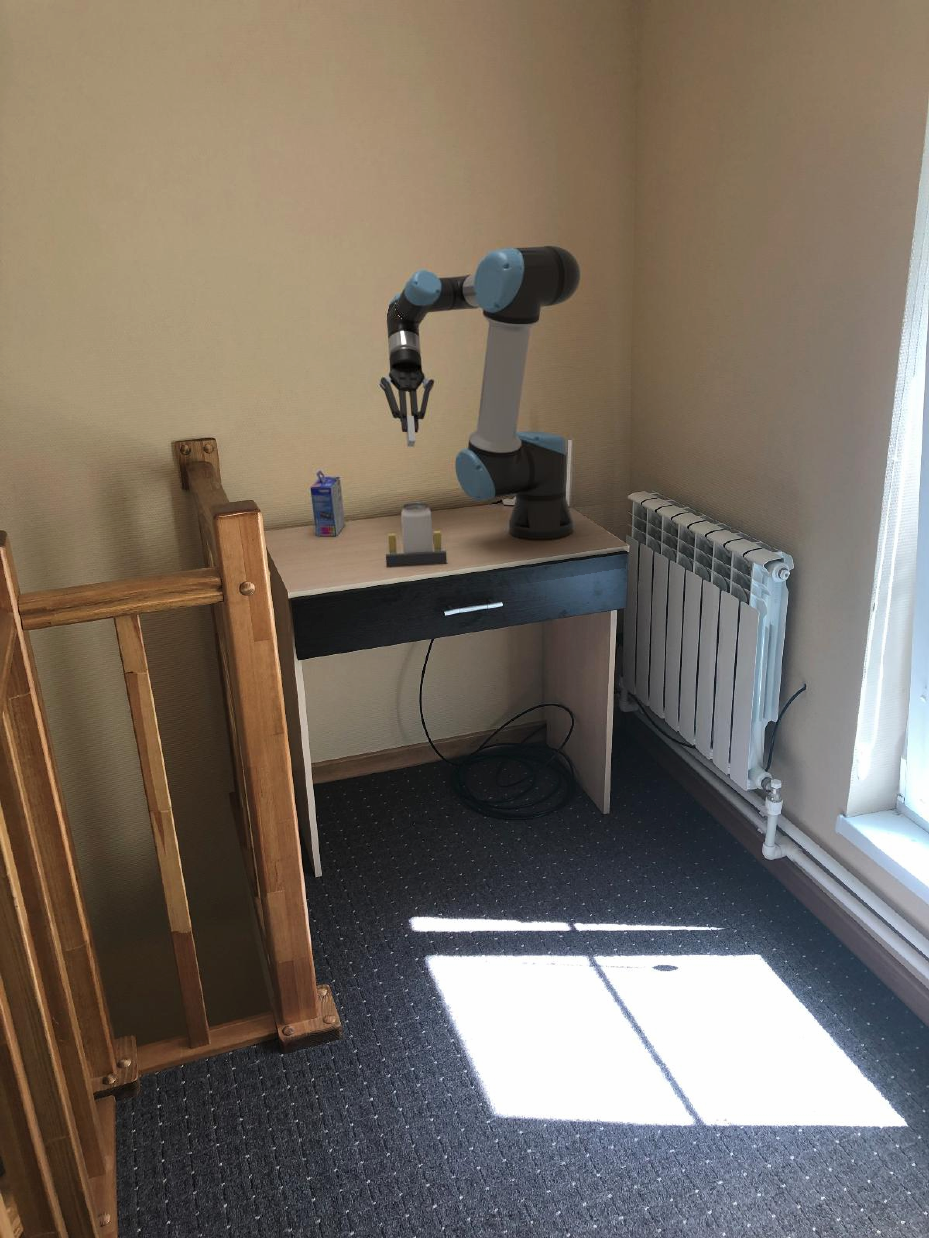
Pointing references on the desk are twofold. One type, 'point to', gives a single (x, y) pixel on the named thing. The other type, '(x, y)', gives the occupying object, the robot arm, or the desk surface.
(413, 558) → the u-shaped rail frame
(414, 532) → the can
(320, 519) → the ink cartridge box
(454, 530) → the desk surface
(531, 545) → the desk surface
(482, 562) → the desk surface
